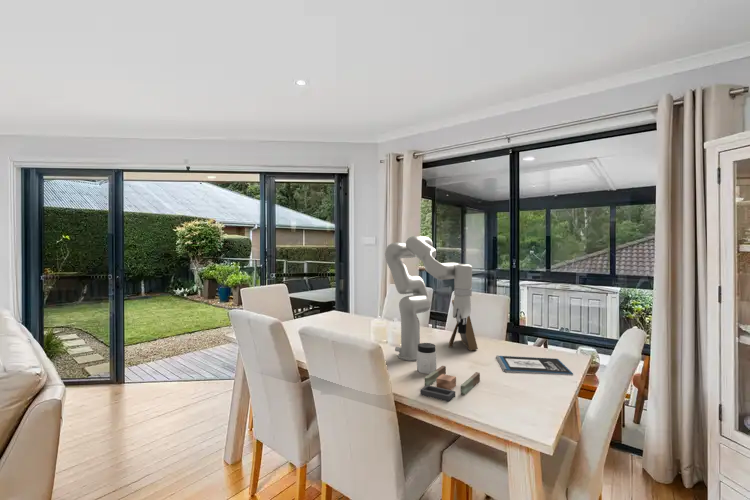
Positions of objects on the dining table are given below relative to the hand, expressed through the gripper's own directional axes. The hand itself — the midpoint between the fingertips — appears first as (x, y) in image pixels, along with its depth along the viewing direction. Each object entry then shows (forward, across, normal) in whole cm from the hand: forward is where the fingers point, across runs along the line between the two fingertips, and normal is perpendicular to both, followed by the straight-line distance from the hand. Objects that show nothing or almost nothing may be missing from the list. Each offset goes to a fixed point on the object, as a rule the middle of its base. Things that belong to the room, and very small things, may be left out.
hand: (462, 332), depth 172 cm
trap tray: (+19, +27, +1) cm, 33 cm away
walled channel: (+19, +12, +1) cm, 22 cm away
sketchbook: (+19, -30, +24) cm, 43 cm away
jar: (+19, +4, -15) cm, 25 cm away
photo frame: (+20, -45, -18) cm, 52 cm away
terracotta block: (+19, +17, 0) cm, 25 cm away
